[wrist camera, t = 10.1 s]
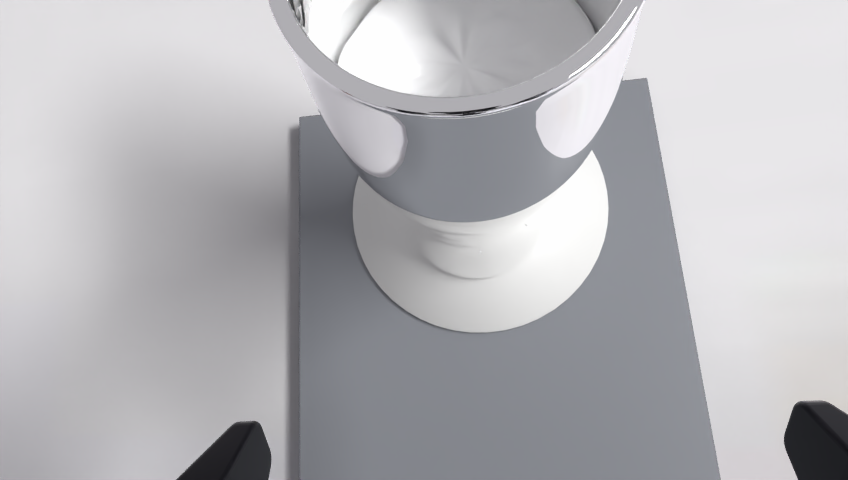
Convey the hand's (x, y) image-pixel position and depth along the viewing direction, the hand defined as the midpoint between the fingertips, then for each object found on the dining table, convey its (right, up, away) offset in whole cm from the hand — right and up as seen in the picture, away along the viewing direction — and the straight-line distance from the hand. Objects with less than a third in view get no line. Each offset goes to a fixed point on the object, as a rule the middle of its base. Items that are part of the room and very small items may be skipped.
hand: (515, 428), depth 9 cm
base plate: (+1, -2, +13) cm, 14 cm away
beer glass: (+1, +4, +14) cm, 15 cm away
